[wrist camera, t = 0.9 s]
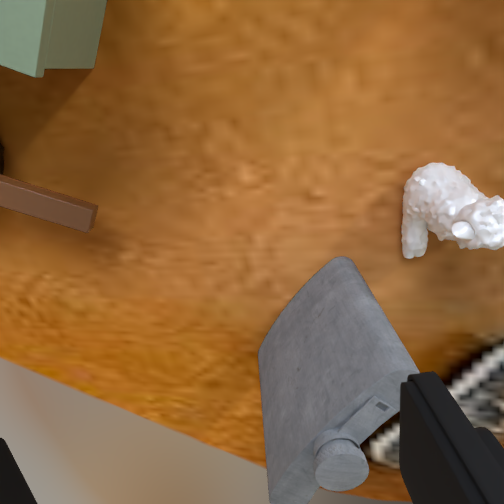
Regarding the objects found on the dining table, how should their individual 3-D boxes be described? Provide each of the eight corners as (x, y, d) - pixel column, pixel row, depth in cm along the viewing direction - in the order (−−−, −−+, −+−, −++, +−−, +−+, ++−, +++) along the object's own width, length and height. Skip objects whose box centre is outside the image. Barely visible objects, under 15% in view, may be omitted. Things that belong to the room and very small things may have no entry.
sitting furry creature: (402, 257, 43) (459, 321, 32) (367, 189, 40) (417, 234, 29) (489, 210, 41) (581, 262, 30) (460, 135, 38) (550, 163, 27)
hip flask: (275, 368, 48) (298, 550, 30) (246, 353, 47) (252, 533, 29) (361, 265, 43) (452, 410, 25) (331, 246, 42) (403, 383, 24)
